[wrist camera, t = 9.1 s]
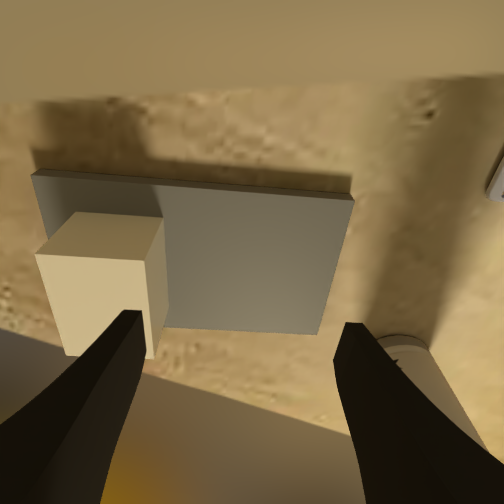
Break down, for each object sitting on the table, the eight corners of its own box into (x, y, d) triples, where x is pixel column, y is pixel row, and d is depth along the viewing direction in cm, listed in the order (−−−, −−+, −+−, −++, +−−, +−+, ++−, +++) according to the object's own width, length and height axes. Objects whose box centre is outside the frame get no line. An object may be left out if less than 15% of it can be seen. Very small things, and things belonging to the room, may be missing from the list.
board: (350, 194, 20) (371, 225, 17) (314, 325, 26) (325, 368, 23) (40, 168, 19) (-5, 197, 16) (76, 312, 25) (50, 356, 21)
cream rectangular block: (163, 217, 20) (144, 260, 16) (168, 306, 23) (154, 359, 20) (75, 211, 19) (34, 254, 15) (95, 303, 23) (66, 355, 19)
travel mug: (358, 331, 26) (557, 843, 10) (438, 334, 27) (765, 833, 10) (341, 381, 30) (467, 824, 13) (413, 383, 30) (625, 817, 13)
